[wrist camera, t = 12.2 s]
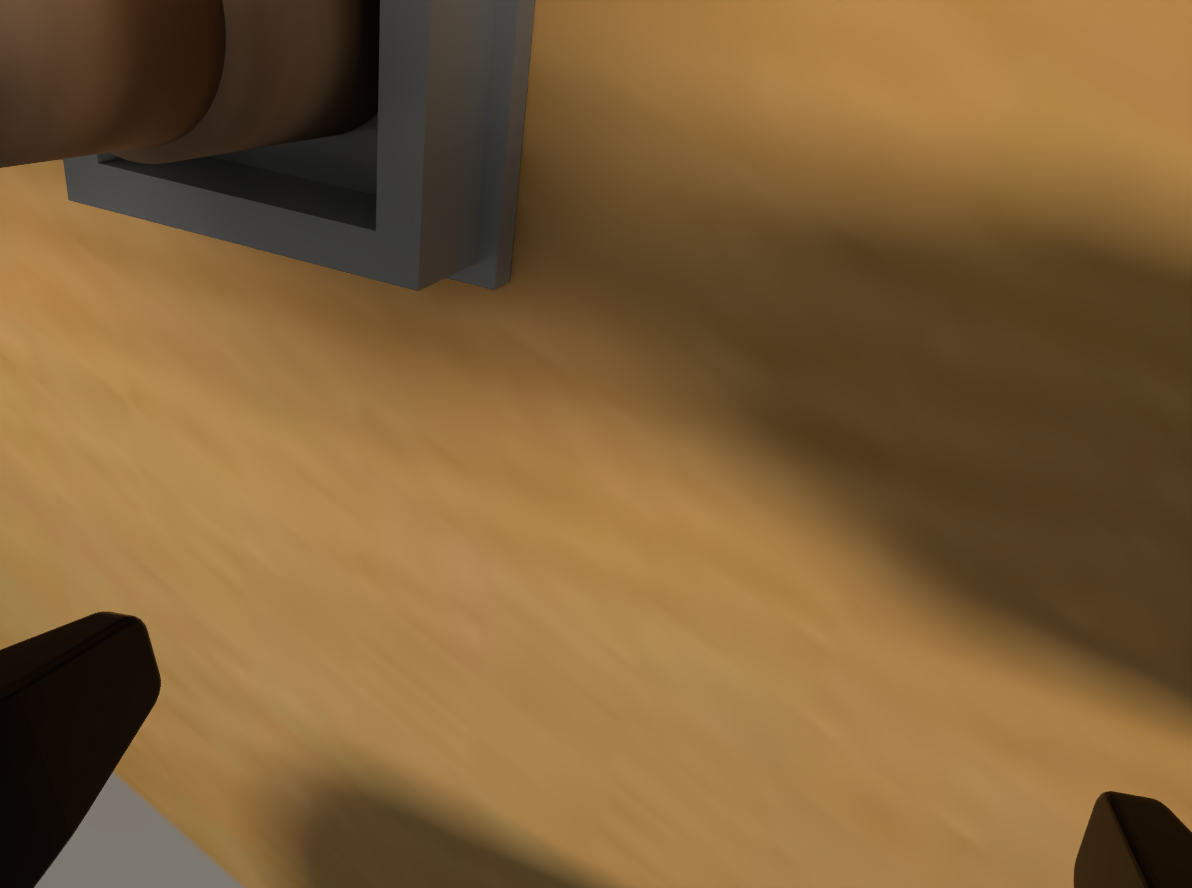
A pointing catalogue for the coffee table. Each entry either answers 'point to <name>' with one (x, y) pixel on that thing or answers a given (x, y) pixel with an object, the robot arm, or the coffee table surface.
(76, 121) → the pepper mill
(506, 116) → the slate open box
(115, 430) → the coffee table surface
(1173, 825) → the robot arm
